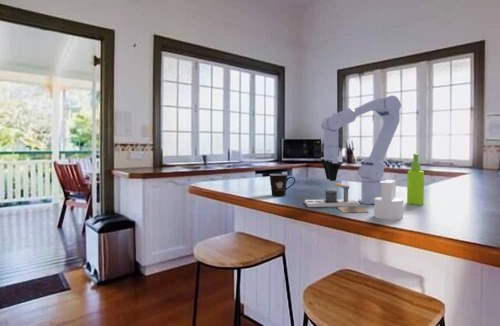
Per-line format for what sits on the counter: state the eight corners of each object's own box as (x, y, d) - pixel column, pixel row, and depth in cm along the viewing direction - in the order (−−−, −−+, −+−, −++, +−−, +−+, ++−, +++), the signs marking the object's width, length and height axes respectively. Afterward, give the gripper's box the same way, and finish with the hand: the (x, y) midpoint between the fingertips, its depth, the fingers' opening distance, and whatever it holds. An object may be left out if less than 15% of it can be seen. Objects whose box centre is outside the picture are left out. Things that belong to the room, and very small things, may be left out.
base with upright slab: (401, 221, 107) (401, 183, 106) (371, 218, 112) (371, 182, 111) (404, 215, 115) (405, 180, 114) (377, 212, 119) (377, 179, 119)
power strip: (352, 202, 141) (352, 187, 140) (359, 206, 132) (359, 190, 131) (304, 202, 141) (304, 188, 140) (308, 206, 132) (308, 191, 131)
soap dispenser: (422, 202, 138) (423, 153, 137) (423, 205, 132) (424, 154, 130) (407, 201, 140) (407, 153, 139) (407, 204, 134) (407, 154, 133)
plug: (335, 203, 139) (335, 189, 138) (338, 205, 134) (338, 190, 133) (323, 203, 139) (323, 189, 138) (326, 205, 134) (326, 191, 133)
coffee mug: (267, 196, 159) (266, 175, 158) (272, 193, 167) (272, 173, 166) (291, 197, 154) (290, 175, 154) (295, 194, 162) (295, 174, 162)
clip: (350, 188, 135) (350, 186, 135) (344, 189, 134) (344, 186, 134) (339, 184, 147) (339, 182, 147) (333, 185, 147) (333, 182, 147)
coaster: (360, 207, 129) (360, 206, 129) (368, 212, 120) (368, 211, 120) (336, 208, 129) (336, 207, 129) (343, 213, 120) (343, 211, 120)
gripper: (317, 146, 142) (317, 178, 143) (324, 146, 128) (325, 182, 128) (334, 146, 142) (334, 178, 143) (343, 146, 127) (343, 182, 128)
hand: (331, 180), depth 136 cm, fingers open, 5 cm apart
